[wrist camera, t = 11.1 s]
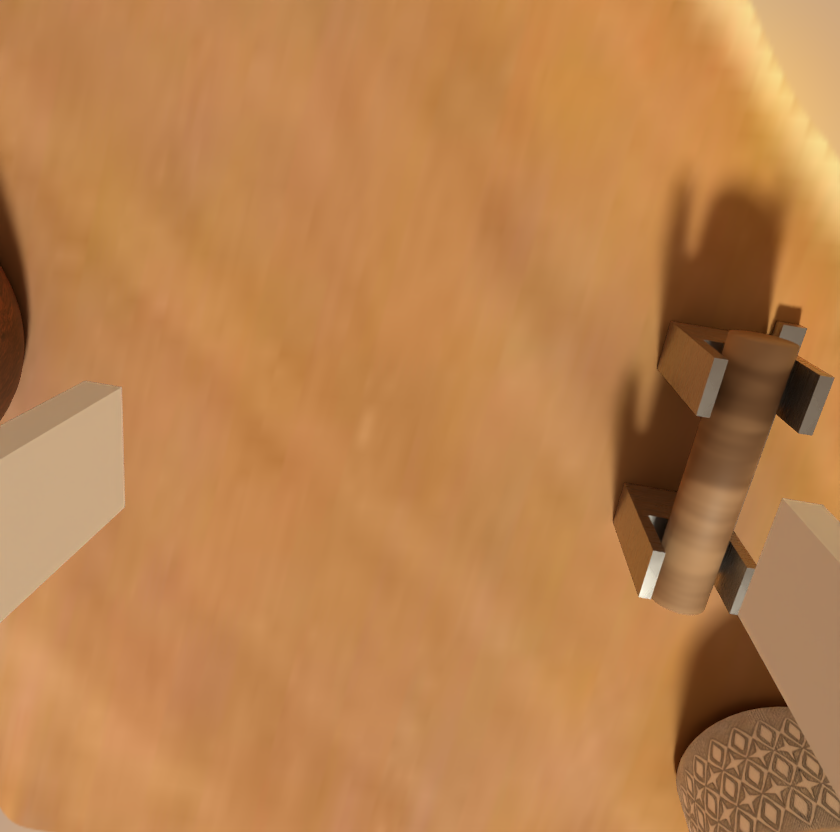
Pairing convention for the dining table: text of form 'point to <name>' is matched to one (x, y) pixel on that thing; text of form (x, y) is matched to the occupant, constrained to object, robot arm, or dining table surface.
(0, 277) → the wooden bowl
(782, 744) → the planter
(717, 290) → the dining table surface
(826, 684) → the robot arm
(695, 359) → the bracket
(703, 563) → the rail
